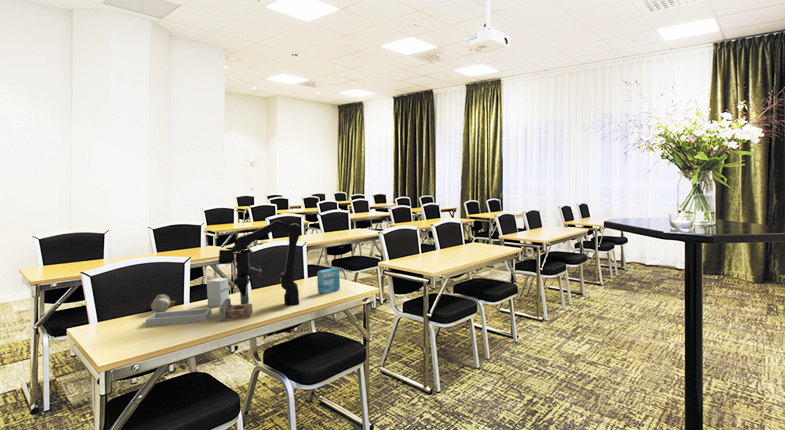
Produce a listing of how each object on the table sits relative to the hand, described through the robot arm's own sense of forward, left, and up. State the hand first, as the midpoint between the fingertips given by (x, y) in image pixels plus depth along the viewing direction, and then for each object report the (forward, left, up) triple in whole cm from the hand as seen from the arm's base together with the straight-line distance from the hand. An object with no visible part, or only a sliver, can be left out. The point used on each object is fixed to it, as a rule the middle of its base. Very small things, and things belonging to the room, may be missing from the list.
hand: (244, 295), depth 200 cm
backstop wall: (+7, +11, -6) cm, 14 cm away
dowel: (0, 0, -4) cm, 4 cm away
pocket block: (+1, +12, -7) cm, 14 cm away
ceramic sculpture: (+39, -9, -7) cm, 41 cm away
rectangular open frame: (+26, +11, -6) cm, 29 cm away
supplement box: (+14, -11, -7) cm, 19 cm away
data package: (-41, -19, -7) cm, 46 cm away
